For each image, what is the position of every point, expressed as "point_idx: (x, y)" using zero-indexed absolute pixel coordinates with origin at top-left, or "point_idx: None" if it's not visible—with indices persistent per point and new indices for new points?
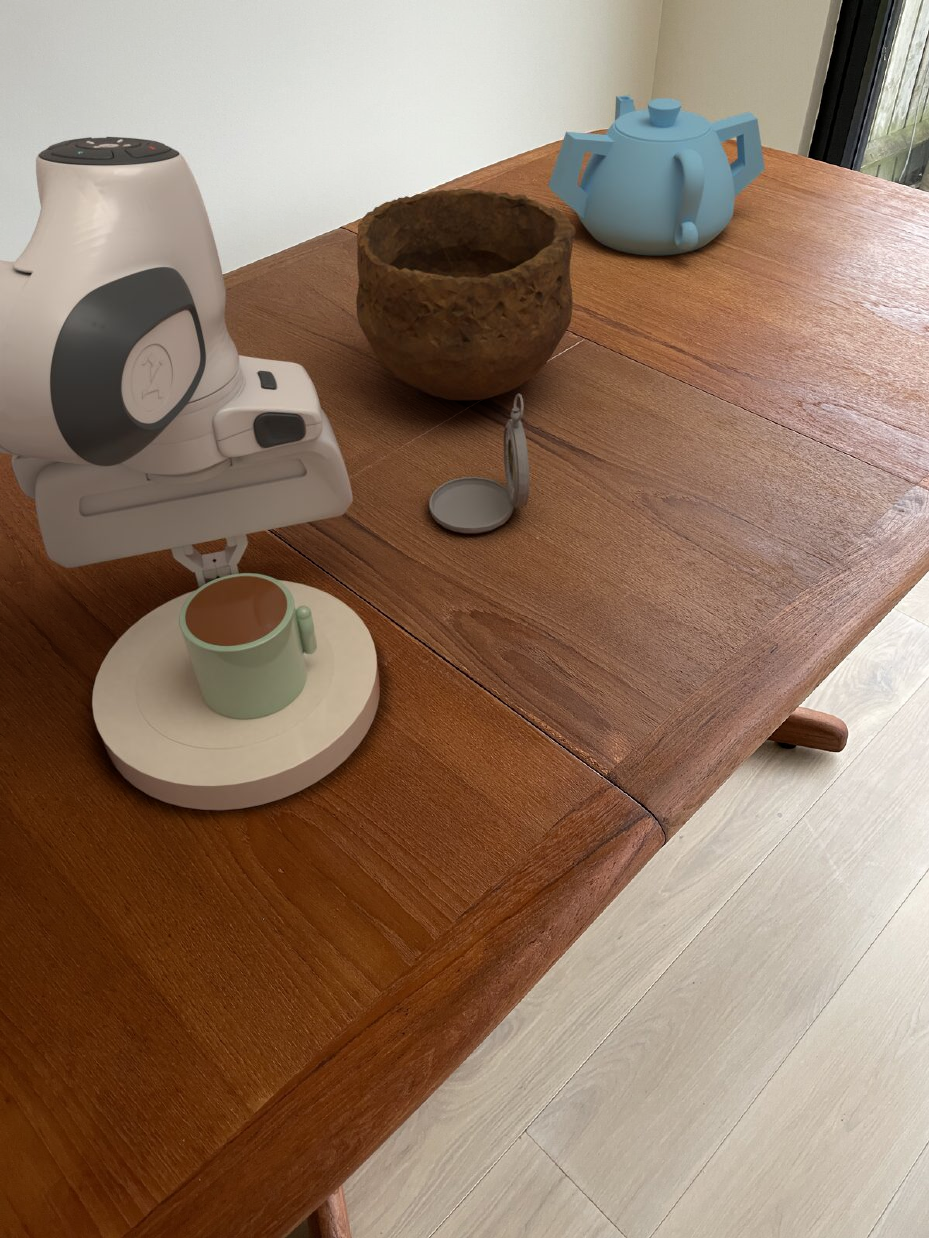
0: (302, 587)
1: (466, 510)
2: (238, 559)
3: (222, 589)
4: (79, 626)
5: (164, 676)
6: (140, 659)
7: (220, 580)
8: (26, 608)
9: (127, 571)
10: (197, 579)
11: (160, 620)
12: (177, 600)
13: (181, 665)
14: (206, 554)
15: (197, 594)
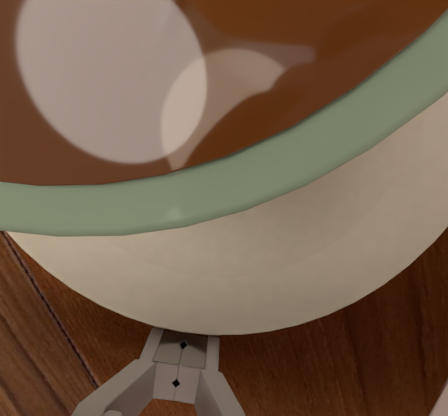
0: (47, 262)
1: None
2: (128, 368)
3: (69, 4)
4: (377, 345)
5: None
6: (372, 219)
7: (73, 178)
8: (419, 398)
9: (290, 404)
10: (218, 354)
11: (304, 294)
12: (262, 326)
13: None
14: (185, 402)
15: (353, 78)
